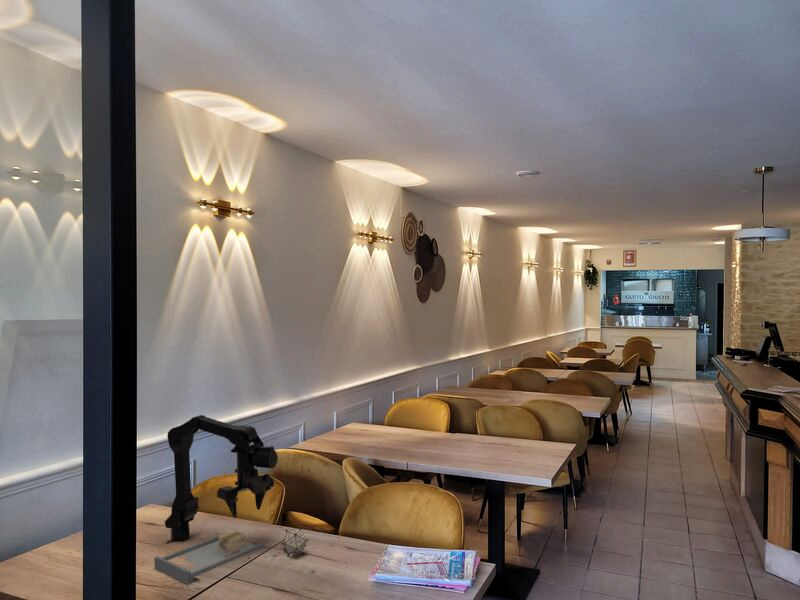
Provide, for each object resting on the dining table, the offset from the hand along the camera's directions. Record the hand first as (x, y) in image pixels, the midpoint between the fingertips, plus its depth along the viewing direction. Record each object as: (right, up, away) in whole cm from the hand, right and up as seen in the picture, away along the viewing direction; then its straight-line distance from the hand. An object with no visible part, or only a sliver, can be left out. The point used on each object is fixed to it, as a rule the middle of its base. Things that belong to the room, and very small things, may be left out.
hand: (246, 513), depth 194 cm
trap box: (-9, -12, -7) cm, 17 cm away
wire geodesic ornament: (+17, -12, -4) cm, 21 cm away
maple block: (-5, -11, 0) cm, 12 cm away
